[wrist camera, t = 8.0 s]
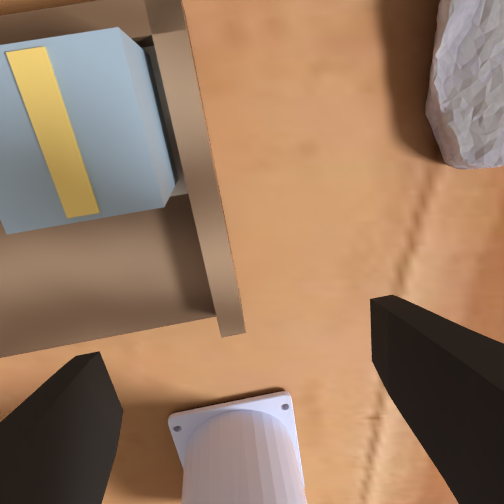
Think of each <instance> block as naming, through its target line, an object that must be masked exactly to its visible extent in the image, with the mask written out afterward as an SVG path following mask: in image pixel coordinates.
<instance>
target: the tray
mask: <svg viewBox="0 0 504 504" xmlns="http://www.w3.org/2000/svg"><path fill="white" fill-rule="evenodd" d="M115 27H119V28H120V29H121V30H122V31H123V32H124V33H125V34H127V35H128V36H129V37H130V38H131V39H132V40H133V41H134V42H135V43H136V44H138V45H139V46H140V47H141V48H142V49H143V50H144V51H145V52H146V53H147V54H149V55H150V59H151V64H152V68H153V72H154V77H155V81H156V85H157V90H158V94H159V98H160V103H161V107H162V111H163V115H164V120H165V124H166V128H167V133H168V137H169V141H170V146H171V150H172V154H173V159H174V163H175V167H176V172H177V176H178V181H177V183H176V185H175V187H174V189H173V191H172V193H171V195H170V197H169V199H168V201H167V203H166V205H165V207H163V208H157V209H151V210H145V211H140V212H134V213H128V214H123V215H117V216H111V217H105V218H100V219H94V220H88V221H82V222H77V223H71V224H65V225H59V226H54V227H48V228H42V229H36V230H31V231H25V232H19V233H13V234H8V235H7V234H6V231H5V229H4V227H3V225H2V222H1V220H0V358H2V357H7V356H12V355H18V354H23V353H28V352H33V351H38V350H44V349H49V348H54V347H59V346H64V345H70V344H75V343H80V342H85V341H91V340H96V339H101V338H106V337H111V336H117V335H122V334H127V333H132V332H137V331H143V330H148V329H153V328H158V327H163V326H169V325H174V324H179V323H184V322H189V321H195V320H200V319H205V318H210V317H215V316H217V321H218V325H219V329H220V334H221V338H222V337H227V336H232V335H237V334H242V333H246V331H245V325H244V318H243V312H242V305H241V299H240V294H239V288H238V283H237V278H236V273H235V268H234V263H233V258H232V252H231V247H230V242H229V237H228V232H227V227H226V222H225V216H224V211H223V206H222V201H221V196H220V191H219V185H218V180H217V175H216V170H215V165H214V160H213V155H212V149H211V144H210V139H209V134H208V129H207V124H206V119H205V113H204V108H203V103H202V98H201V93H200V88H199V83H198V77H197V72H196V67H195V62H194V57H193V52H192V47H191V41H190V36H189V31H188V26H187V21H186V16H185V11H184V8H183V4H182V0H97V1H91V2H84V3H78V4H71V5H65V6H58V7H52V8H45V9H39V10H33V11H26V12H20V13H13V14H7V15H0V45H4V44H10V43H17V42H24V41H30V40H37V39H43V38H50V37H56V36H63V35H69V34H76V33H83V32H89V31H96V30H102V29H109V28H115Z"/></svg>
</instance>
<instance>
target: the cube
mask: <svg viewBox="0 0 504 504" xmlns="http://www.w3.org/2000/svg"><path fill="white" fill-rule="evenodd" d="M177 181H178V176H177V172H176V167H175V163H174V159H173V154H172V150H171V146H170V141H169V137H168V133H167V128H166V124H165V120H164V115H163V111H162V107H161V103H160V98H159V94H158V90H157V85H156V81H155V77H154V72H153V68H152V64H151V59H150V55H149V54H147V53H146V52H145V51H144V50H143V49H142V48H141V47H140V46H139V45H138V44H136V43H135V42H134V41H133V40H132V39H131V38H130V37H129V36H128V35H127V34H125V33H124V32H123V31H122V30H121V29H120V28H119V27H115V28H109V29H102V30H96V31H89V32H83V33H76V34H69V35H63V36H56V37H50V38H43V39H37V40H30V41H24V42H17V43H10V44H4V45H0V220H1V222H2V225H3V227H4V229H5V231H6V234H7V235H8V234H13V233H19V232H25V231H31V230H36V229H42V228H48V227H54V226H59V225H65V224H71V223H77V222H82V221H88V220H94V219H100V218H105V217H111V216H117V215H123V214H128V213H134V212H140V211H145V210H151V209H157V208H163V207H165V205H166V203H167V201H168V199H169V197H170V195H171V193H172V191H173V189H174V187H175V185H176V183H177Z"/></svg>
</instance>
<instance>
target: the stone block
mask: <svg viewBox="0 0 504 504" xmlns="http://www.w3.org/2000/svg"><path fill="white" fill-rule="evenodd" d="M436 20H437V30H436V33H435V40H434V51H433V59H432V64H431V68H430V83H429V90H428V96H427V100H426V104H425V115H426V117H427V119H428V121H429V123H430V125H431V128H432V130H433V134H434V137H435V139H436V141H437V143H438V145H439V148H440V151H441V154H442V157H443V160H444V162H445V163H446V164H448V165H449V166H452V167H454V168H457V169H479V168H492V167H499V166H503V165H504V0H440V3H439V5H438V15H437V19H436Z"/></svg>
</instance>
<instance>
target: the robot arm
mask: <svg viewBox="0 0 504 504" xmlns="http://www.w3.org/2000/svg"><path fill="white" fill-rule="evenodd" d="M370 311H371V344H372V362H373V364H374V366H375V368H376V370H377V372H378V374H379V376H380V378H381V380H382V382H383V384H384V386H385V388H386V390H387V392H388V394H389V396H390V397H391V399H392V400H393V402H394V404H395V405H396V407H397V408H398V410H399V411H400V413H401V414H402V416H403V417H404V419H405V420H406V422H407V424H408V425H409V427H410V428H411V430H412V431H413V433H414V434H415V436H416V437H417V439H418V440H419V442H420V443H421V445H422V446H423V448H424V449H425V451H426V452H427V454H428V455H429V457H430V458H431V460H432V461H433V463H434V464H435V466H436V467H437V469H438V471H439V472H440V474H441V475H442V477H443V478H444V480H445V481H446V483H447V485H448V486H449V488H450V490H451V491H452V493H453V495H454V496H455V498H456V500H457V501H458V503H459V504H504V344H503V343H501V342H498V341H496V340H493V339H491V338H488V337H486V336H484V335H481V334H479V333H477V332H474V331H472V330H470V329H468V328H465V327H463V326H461V325H459V324H456V323H454V322H452V321H450V320H448V319H445V318H443V317H441V316H439V315H437V314H435V313H433V312H430V311H428V310H426V309H424V308H422V307H420V306H418V305H415V304H413V303H411V302H409V301H407V300H404V299H402V298H400V297H397V296H394V295H389V296H383V297H378V298H373V299H370ZM283 404H286V405H283ZM122 414H123V409H122V407H121V404H120V402H119V399H118V397H117V394H116V392H115V389H114V386H113V384H112V381H111V379H110V376H109V374H108V371H107V369H106V366H105V364H104V361H103V359H102V356H101V354H100V351H99V352H94V353H89V354H84V355H79V356H75V357H74V358H73V359H71V360H70V361H69V362H68V363H66V364H65V365H64V366H63V367H62V368H61V369H59V370H58V371H57V372H56V373H55V374H54V375H53V376H51V377H50V378H49V379H48V380H47V381H46V382H45V383H44V384H43V385H41V386H40V387H39V388H38V389H37V390H36V391H35V392H34V393H33V394H31V395H30V396H29V397H28V398H27V399H26V400H25V401H24V402H23V403H21V404H20V405H19V406H18V407H17V408H16V409H15V410H14V411H13V412H11V413H10V414H9V415H8V416H7V417H6V418H5V419H4V420H3V421H1V422H0V504H101V503H102V500H103V496H104V493H105V490H106V486H107V483H108V479H109V476H110V472H111V469H112V465H113V462H114V458H115V455H116V451H117V446H118V440H119V434H120V428H121V421H122ZM168 426H169V429H170V432H171V435H172V438H173V441H174V444H175V447H176V450H177V452H178V455H179V458H180V461H181V464H182V467H183V470H184V475H183V487H182V500H181V504H307V500H306V496H305V492H304V487H305V486H304V479H303V472H302V465H301V459H300V452H299V445H298V438H297V432H296V425H295V418H294V412H293V405H292V399H291V395H290V393H289V392H286V391H281V392H276V393H271V394H266V395H261V396H256V397H252V398H247V399H242V400H237V401H232V402H227V403H222V404H217V405H212V406H207V407H202V408H197V409H192V410H187V411H182V412H177V413H173V414H171V415H170V416H169V418H168ZM176 426H180V427H176Z"/></svg>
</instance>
